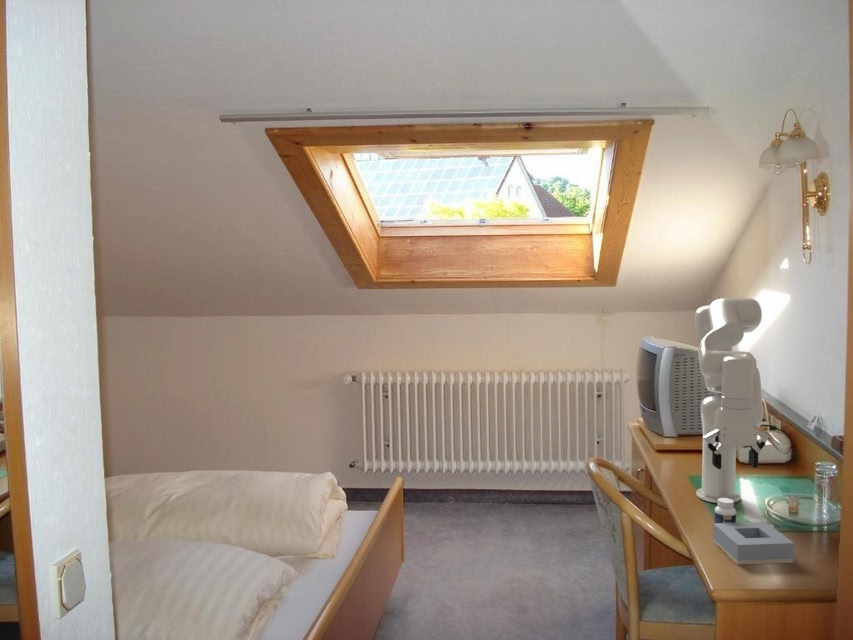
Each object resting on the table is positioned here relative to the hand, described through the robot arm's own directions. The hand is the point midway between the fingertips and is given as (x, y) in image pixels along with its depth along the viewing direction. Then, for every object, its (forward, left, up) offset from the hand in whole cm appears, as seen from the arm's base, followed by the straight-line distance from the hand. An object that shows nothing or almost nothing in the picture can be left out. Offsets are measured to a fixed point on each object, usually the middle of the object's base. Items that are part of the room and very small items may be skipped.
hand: (734, 466), depth 196 cm
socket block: (+9, +1, -20) cm, 21 cm away
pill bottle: (-2, -1, -20) cm, 20 cm away
